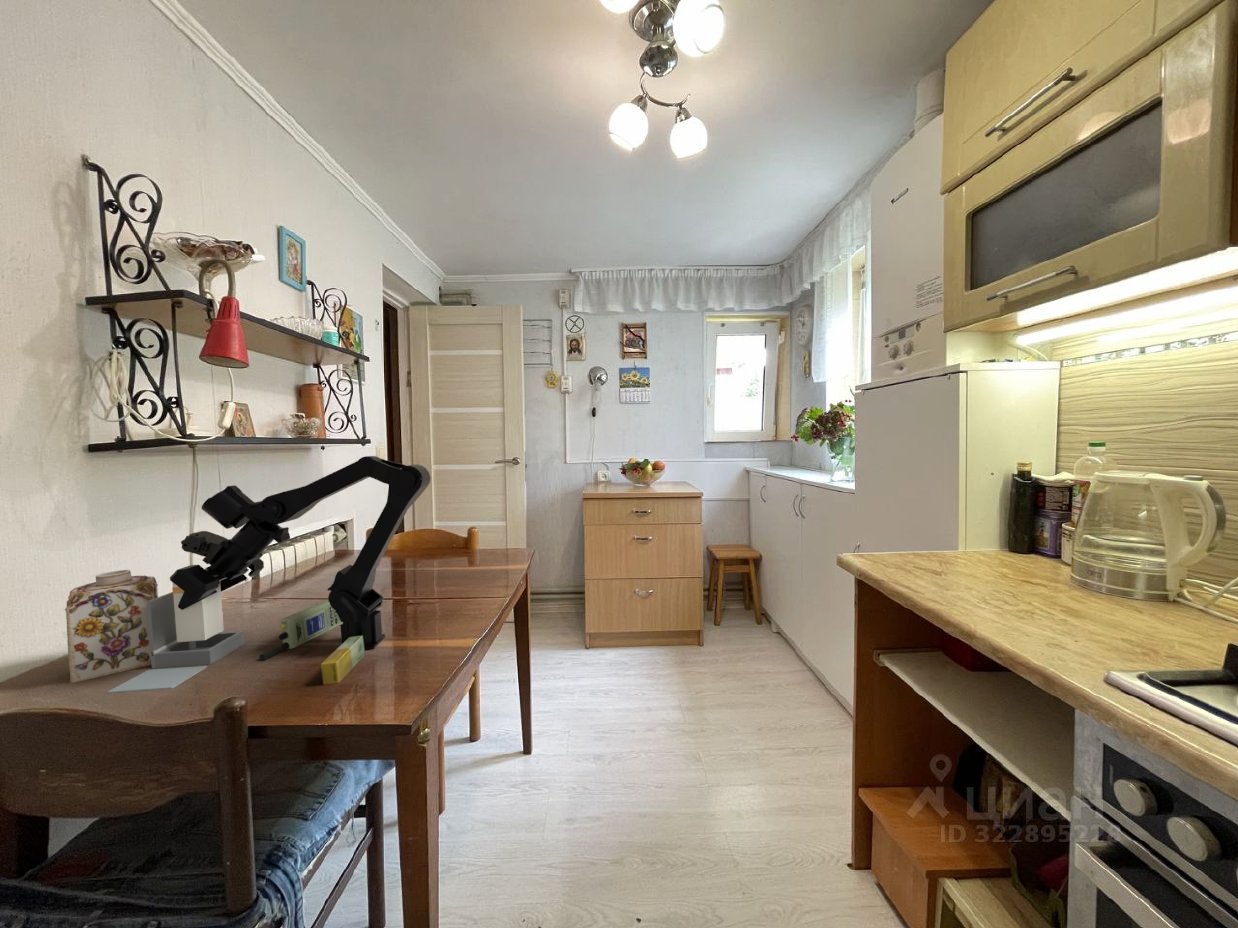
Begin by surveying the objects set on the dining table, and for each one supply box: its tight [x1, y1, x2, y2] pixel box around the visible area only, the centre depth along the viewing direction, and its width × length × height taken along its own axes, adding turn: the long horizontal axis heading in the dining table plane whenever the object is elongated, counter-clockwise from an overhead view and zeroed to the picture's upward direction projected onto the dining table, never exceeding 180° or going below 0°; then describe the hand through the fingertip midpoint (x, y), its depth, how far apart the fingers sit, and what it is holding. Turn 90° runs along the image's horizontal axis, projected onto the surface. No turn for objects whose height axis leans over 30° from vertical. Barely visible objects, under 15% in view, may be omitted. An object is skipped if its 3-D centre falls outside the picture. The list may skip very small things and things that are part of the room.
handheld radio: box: [259, 598, 343, 662], centre depth 105 cm, size 7×3×25 cm
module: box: [171, 581, 224, 642], centre depth 96 cm, size 5×5×12 cm
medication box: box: [320, 635, 366, 686], centre depth 89 cm, size 12×3×4 cm, turn 7°
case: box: [147, 591, 246, 669], centre depth 96 cm, size 10×10×13 cm
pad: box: [106, 665, 208, 694], centre depth 86 cm, size 10×8×1 cm
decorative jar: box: [64, 569, 159, 684], centre depth 93 cm, size 12×12×18 cm
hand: (190, 603), depth 95 cm, fingers closed on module, 5 cm apart
